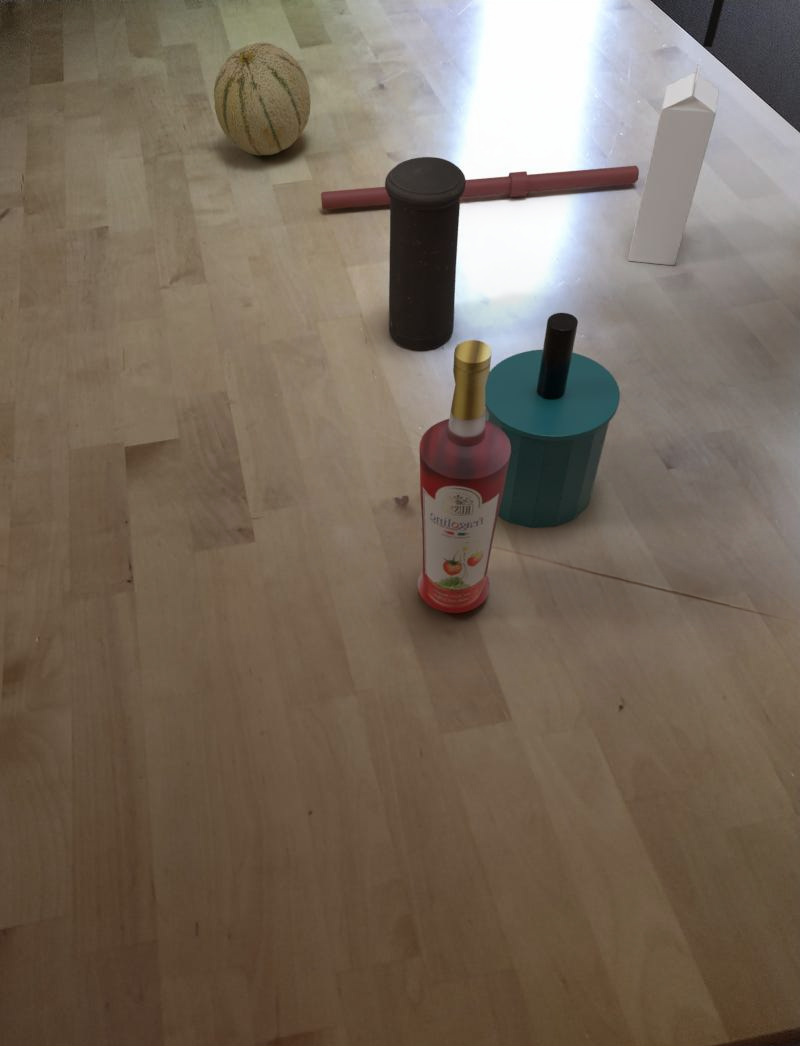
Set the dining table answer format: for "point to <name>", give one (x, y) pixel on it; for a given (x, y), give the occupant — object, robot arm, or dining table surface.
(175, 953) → the dining table surface
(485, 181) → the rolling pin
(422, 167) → the container
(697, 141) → the milk
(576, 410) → the teal lid
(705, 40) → the robot arm
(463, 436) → the liquor
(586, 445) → the teal pot
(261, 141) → the cantaloupe
